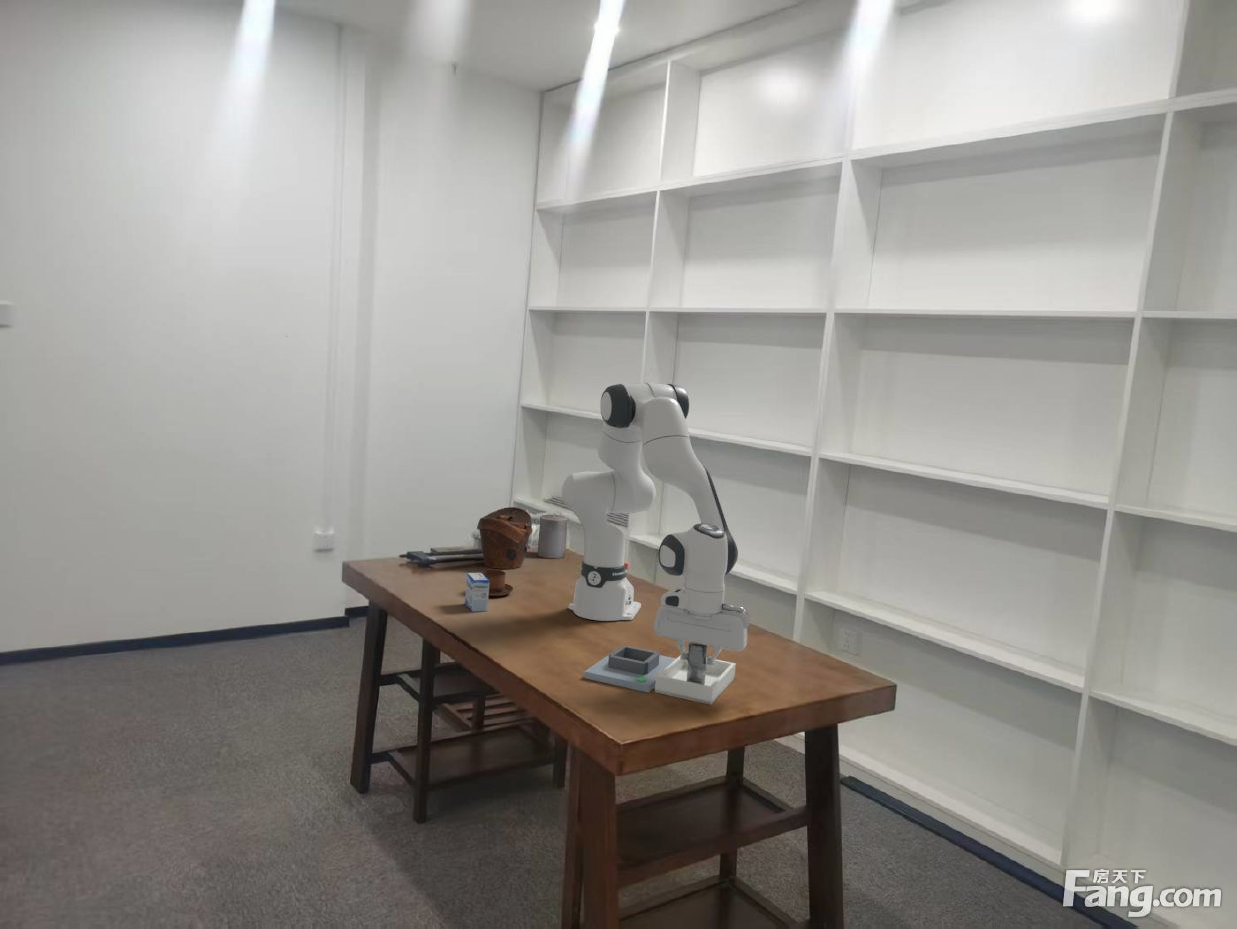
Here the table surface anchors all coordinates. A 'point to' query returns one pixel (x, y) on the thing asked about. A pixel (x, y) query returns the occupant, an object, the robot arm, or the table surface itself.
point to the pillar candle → (552, 536)
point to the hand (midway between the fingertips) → (697, 662)
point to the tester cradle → (629, 668)
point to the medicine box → (477, 592)
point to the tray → (678, 686)
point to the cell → (696, 663)
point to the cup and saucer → (497, 582)
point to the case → (505, 537)
